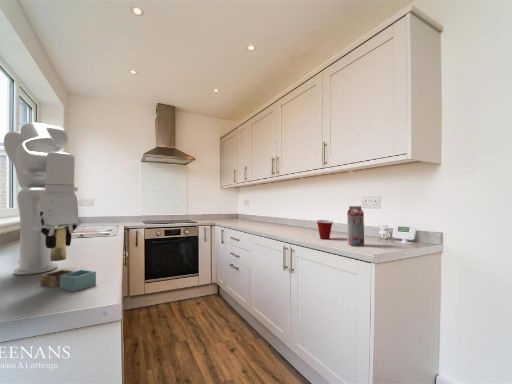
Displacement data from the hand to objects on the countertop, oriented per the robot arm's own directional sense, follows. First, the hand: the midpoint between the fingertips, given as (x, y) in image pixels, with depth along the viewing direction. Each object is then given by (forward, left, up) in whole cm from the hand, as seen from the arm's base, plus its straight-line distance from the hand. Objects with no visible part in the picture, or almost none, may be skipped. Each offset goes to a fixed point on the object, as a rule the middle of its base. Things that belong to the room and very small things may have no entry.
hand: (58, 246), depth 82 cm
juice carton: (+89, +102, -12) cm, 136 cm away
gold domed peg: (0, 0, -4) cm, 4 cm away
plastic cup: (+70, +119, -12) cm, 138 cm away
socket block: (+1, 0, -12) cm, 12 cm away
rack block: (+10, 0, -12) cm, 15 cm away
